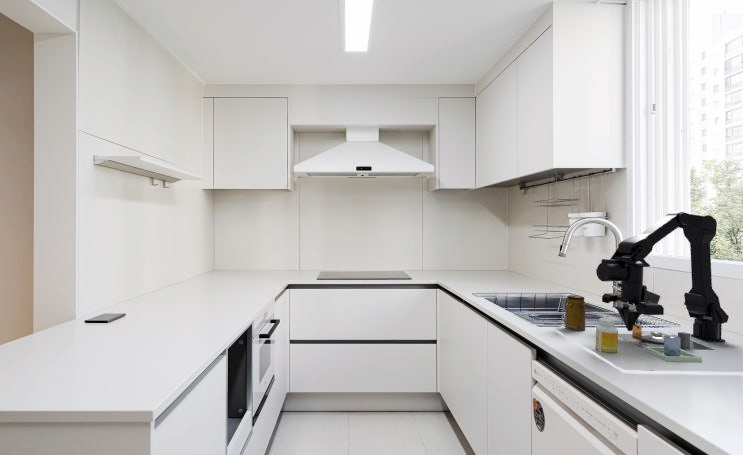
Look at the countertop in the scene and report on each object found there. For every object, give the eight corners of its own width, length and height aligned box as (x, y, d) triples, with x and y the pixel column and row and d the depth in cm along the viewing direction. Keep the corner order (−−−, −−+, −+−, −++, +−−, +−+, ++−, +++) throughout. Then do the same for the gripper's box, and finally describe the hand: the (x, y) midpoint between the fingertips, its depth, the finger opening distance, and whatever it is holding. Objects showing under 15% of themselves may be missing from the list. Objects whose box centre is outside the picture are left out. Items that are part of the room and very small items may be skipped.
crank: (651, 332, 135) (651, 317, 135) (686, 341, 124) (687, 325, 124) (617, 336, 129) (617, 321, 129) (651, 346, 119) (652, 329, 119)
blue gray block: (665, 354, 114) (665, 334, 114) (681, 357, 112) (681, 337, 112) (662, 356, 112) (662, 336, 112) (678, 360, 109) (678, 339, 109)
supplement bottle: (591, 351, 118) (591, 318, 118) (605, 349, 119) (605, 316, 119) (607, 357, 113) (608, 322, 112) (622, 355, 114) (622, 320, 114)
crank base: (674, 337, 133) (674, 321, 133) (715, 352, 117) (715, 335, 117) (612, 336, 134) (613, 320, 134) (644, 351, 118) (644, 334, 118)
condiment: (570, 327, 145) (570, 293, 144) (595, 332, 138) (596, 297, 138) (560, 331, 140) (560, 296, 140) (585, 336, 133) (586, 299, 133)
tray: (676, 353, 116) (676, 347, 116) (701, 364, 107) (701, 357, 107) (644, 353, 116) (644, 346, 116) (666, 363, 107) (667, 357, 107)
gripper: (681, 286, 119) (679, 339, 119) (631, 276, 137) (630, 322, 138) (647, 286, 117) (645, 340, 118) (601, 276, 135) (599, 323, 136)
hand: (629, 331), depth 127 cm, fingers closed
